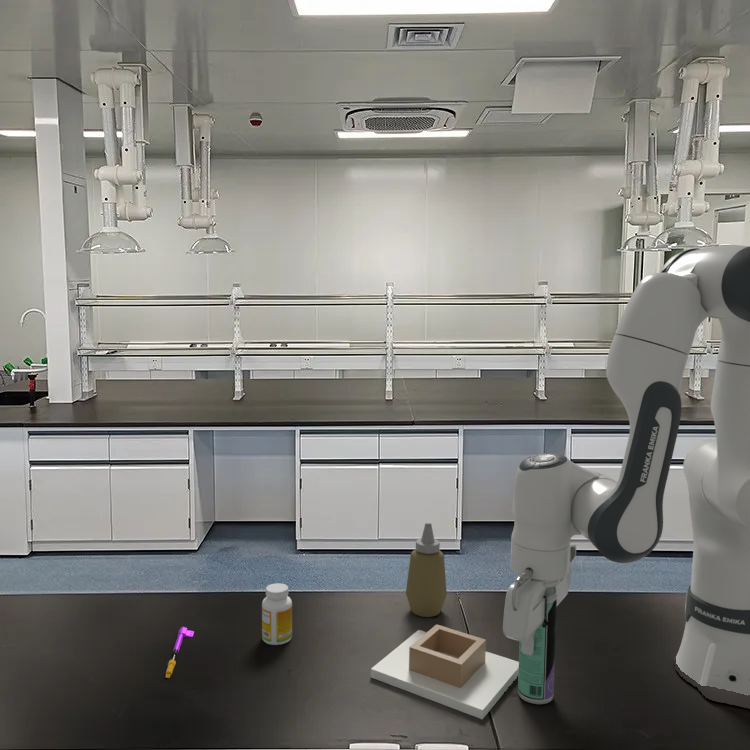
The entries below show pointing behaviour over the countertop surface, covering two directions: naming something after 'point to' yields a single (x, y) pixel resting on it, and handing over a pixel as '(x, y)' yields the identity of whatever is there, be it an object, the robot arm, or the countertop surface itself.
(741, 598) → the robot arm
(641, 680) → the countertop surface
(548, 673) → the spray can
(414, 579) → the squeeze bottle
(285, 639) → the supplement bottle
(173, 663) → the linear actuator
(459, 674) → the socket board
